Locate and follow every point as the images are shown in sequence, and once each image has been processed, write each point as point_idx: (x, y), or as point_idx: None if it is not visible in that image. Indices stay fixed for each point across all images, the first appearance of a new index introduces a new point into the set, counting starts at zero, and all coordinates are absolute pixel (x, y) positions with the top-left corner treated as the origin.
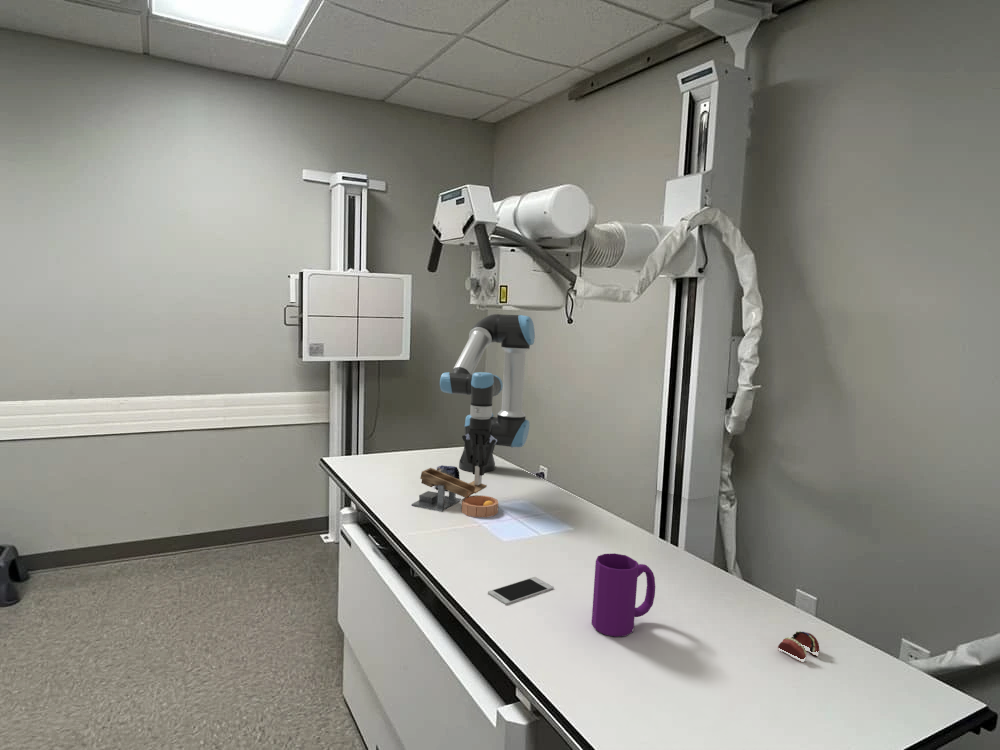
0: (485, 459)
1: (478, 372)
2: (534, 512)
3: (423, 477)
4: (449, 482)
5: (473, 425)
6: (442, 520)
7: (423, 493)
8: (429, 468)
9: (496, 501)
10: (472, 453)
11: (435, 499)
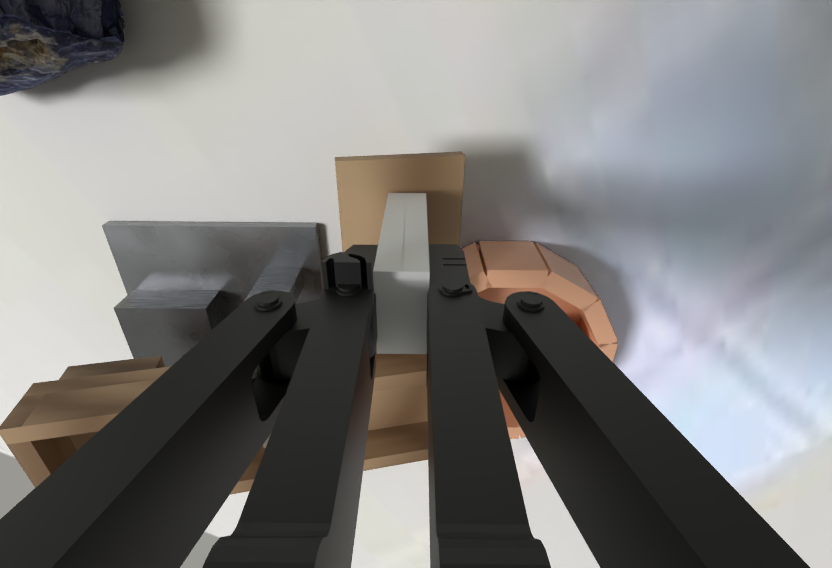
0: (528, 429)
1: None
2: (816, 196)
3: None
4: None
5: None
6: (399, 473)
7: (135, 357)
8: (14, 449)
9: (601, 329)
10: (232, 379)
11: None
